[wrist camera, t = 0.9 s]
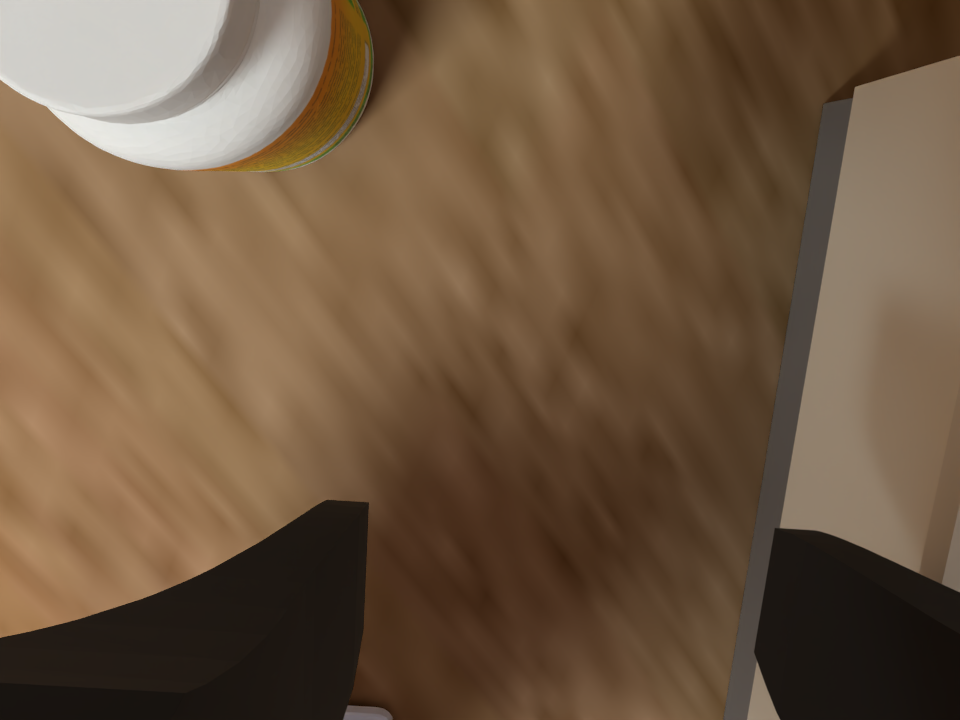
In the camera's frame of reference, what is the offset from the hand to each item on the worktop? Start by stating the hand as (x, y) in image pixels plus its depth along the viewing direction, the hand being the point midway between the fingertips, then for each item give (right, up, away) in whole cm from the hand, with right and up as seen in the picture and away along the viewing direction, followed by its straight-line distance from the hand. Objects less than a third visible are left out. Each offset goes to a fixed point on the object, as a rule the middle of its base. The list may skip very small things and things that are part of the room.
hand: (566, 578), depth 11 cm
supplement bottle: (-6, +11, +8) cm, 15 cm away
